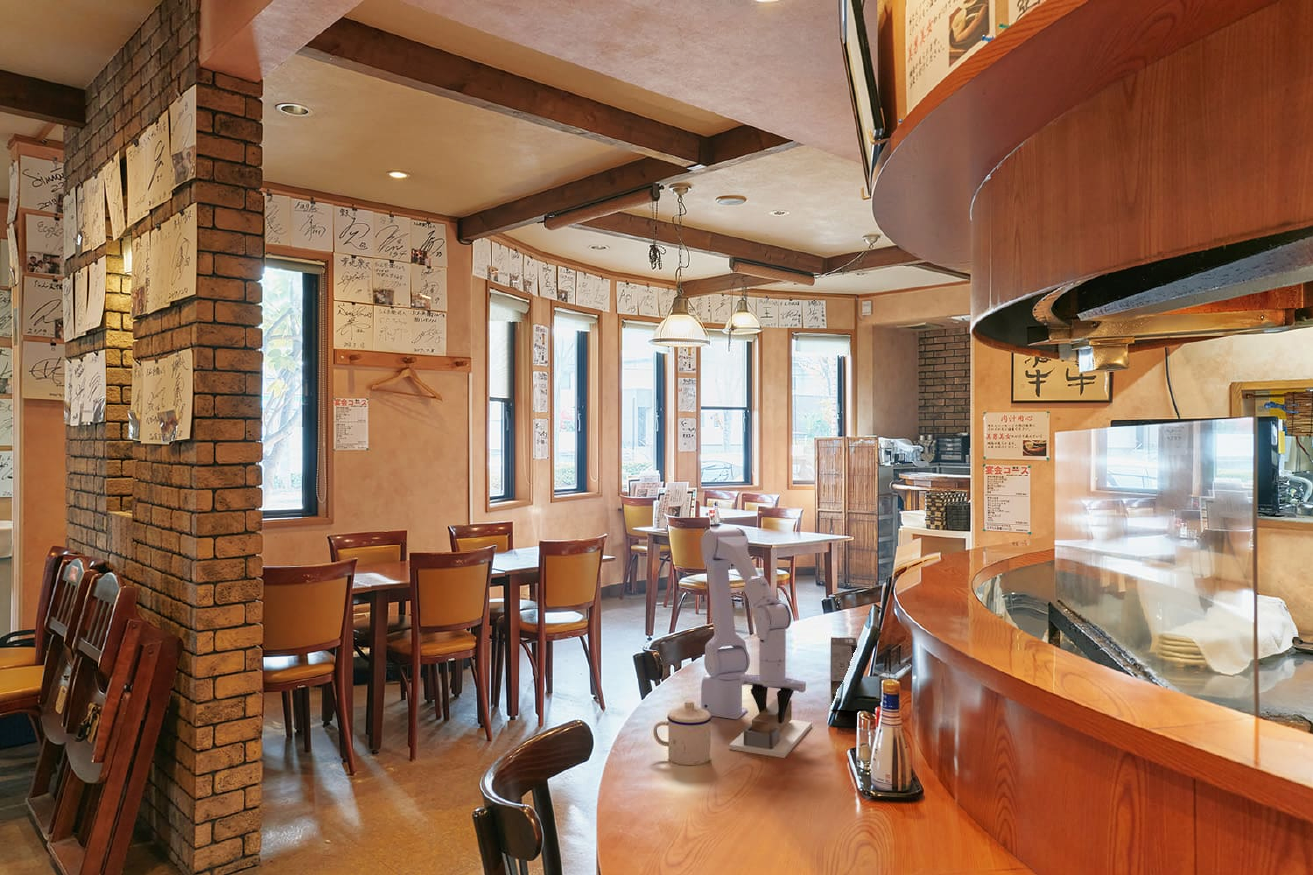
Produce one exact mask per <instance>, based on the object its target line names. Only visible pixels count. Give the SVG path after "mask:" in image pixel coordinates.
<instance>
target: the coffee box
mask: <svg viewBox="0 0 1313 875" xmlns="http://www.w3.org/2000/svg"><path fill="white" fill-rule="evenodd" d="M856 648H857V649H858V642H857V637H834V636H830V666H829V667H830V680H829V681H830V682H829V683H830V706H831V705H832V703H833V701H834V699H835V696H836V692H837V689H838V688H839V687H840V685H841V684H842V682H843V680H844V677H845V675H846V673H847V671H848V668H849V666H850V661H851V659H852V657H853V653H854V652H855V650H856Z"/></svg>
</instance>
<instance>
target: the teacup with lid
mask: <svg viewBox="0 0 1313 875" xmlns="http://www.w3.org/2000/svg"><path fill="white" fill-rule="evenodd" d="M712 717H713V716H711V714H710V713H709V712H708V711H706V710H704V709H701V707H699V706H697V705H695V702H694V701H693V700H685V702H684V705H681V706H679V707H677V708H674V709H671V710H670V711H669V712H668V714H667V717H666V718H667V720H668V721H667V720H662V721H658V722H657V723H656V724H655V725H654V727H653V732H652V734H653V737H654V739H655V741H656V743H658V744H659V745H660V746H662V747H667V748H668V749H667V752H668V753H667V754H668V757H667V758H668V759H669V760H670V761H671V762H672V763H674V764H677V765H683V766H698V765H702V764H706V763H707V762H708V761H710V758H711V721H712V719H713V718H712ZM661 726H665V727H666V726H667V728H668V729H667V731H668V735H667V736H668V740H667V741H664V740H662V739H661V738H660V736H659V734H658V728H659V727H661Z"/></svg>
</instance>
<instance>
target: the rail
mask: <svg viewBox="0 0 1313 875" xmlns="http://www.w3.org/2000/svg"><path fill="white" fill-rule="evenodd" d="M792 702H793V701H792V699H790V700H789V703H788V705H787V709H786V712H785V717H784V721H783V722H782V723H779V721H778V698H777V697H776V698H775V699H774V700H772V701H771V703H769V704H768V705H766V708H765V709H764V710H763V711H762V712H760V713H759V712H758V714H757V715H755V717H753V718H752V719H751V724H752V731H754V732H761V733H768V734H771V733H772V732H773V731H774V730H775V729H776V728H777V727H780V731H781V730H782V729H783V728H784V727H785V726H786V725H787V724H788V723H789V722H790V721H791V720H793V719H792V716H793V715H792V709H793V708H792Z"/></svg>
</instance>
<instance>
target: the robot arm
mask: <svg viewBox="0 0 1313 875" xmlns="http://www.w3.org/2000/svg"><path fill="white" fill-rule="evenodd" d="M700 546H701V555H702V556H701V558H702V564H704V565H705V566H706V572H707V580H708V590H709V599H710V608H711V616H712V626H713V636H712V637H711V639H709V640H708V641H707V642H706V644H705V645H704V658H703V660H704V661H703V664H704V669H705V670H706V672H707V673H706V674H704V676H703V678H702V681H701V686H700V692H701V693H700V708H701V709H704V710H706V711H708V712H709V713H710V714H711V717H718V718H723V719H724V718H726V719H733V720H738V719H739V718H741V717H742V716H743V715H744V714H745V713H746V712H748V708H747V707H743V686H745V685H748V686H752V687H751V689H750V693H751V695H752V697H753V699H754V701H755V703H756V706H757V709H758V710H757V711H758V714H759V713H760V712H762V711H763V710H764V709H765V708H766V707H767V700H768V699H767V697H768V688H771V689H778V691H777V692H776V695H777V697H776V698H778V721H779V723H782V722H783V721H784V717H785V712H786V709H787V705H788V703H789V700H791V698H792V696H793V694H794V692H798V693H804V692H806V687H807V686H806V682H807V681H803V680H797V679H794V678H789V677H786V656H787V655H786V651H787V650H786V648H787V646H786V632H787V629H789V628H790V626H791V624H792V614H791V610H790V608H789V606H788V604H787V603H786V602H782V600H781V599H778V598H777V596H776V595H775V593H774V591H773V589H772V587H771V586H770V583H769V582H768V580H767V578H765V577H763V576H759V573H758V571H757V569H756V567H755V565H754V562H753V560H752V558H751V555H750V553H749V539H748V536H747V534H746V532H745V530H744V529H743V528H741V527H736V528H724V529H723V528H721V529H711V528H710V529H706V530H705V531H704V533H703V535H702V536H701V540H700ZM731 565H733V566H734V568H735V570H736V571H737V573H738V575H739V576H740V578H741V579H742V580H743V582H744V586H743V591H744V593H745V596H746V598H747V600H748V601H749V604H750V605H751V608H752V609H753V611H754V615H753V621H754V624H755V625H754V626H755V627H756V636H757V638H758V639H759V644H758V645H759V646H758V647H759V651H758V652H759V655H758V657H759V661H758V662H759V664H758V665H759V666H758V667H759V669H758V670H759V671H758V672H759V673H758V674H746V673H747V672H748V670H749V668H750V663H751V658H750V654H749V652H748V649H747V646H746V644H747V643H746V641H745V640H744V638H742V637H740V636H739V635H738V634H737V633H736V632H737V631H736V626H735V625H736V624H735V616H734V608H733V598H732V592H731V591H732V590H731V589H732V588H731V581H730V573H729V568H730V566H731ZM723 647H727V648H723Z"/></svg>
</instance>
